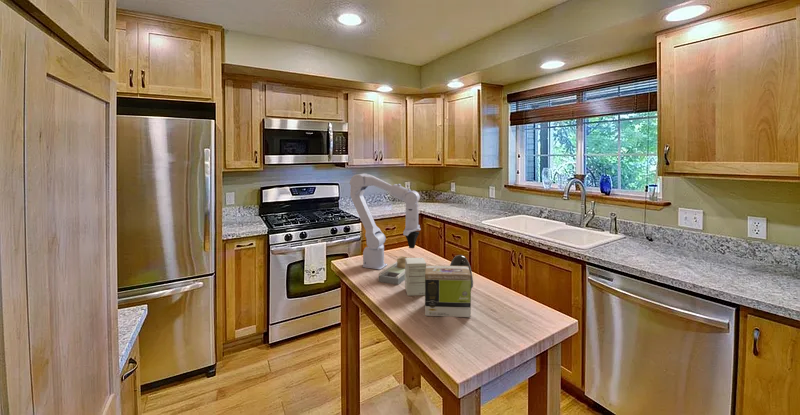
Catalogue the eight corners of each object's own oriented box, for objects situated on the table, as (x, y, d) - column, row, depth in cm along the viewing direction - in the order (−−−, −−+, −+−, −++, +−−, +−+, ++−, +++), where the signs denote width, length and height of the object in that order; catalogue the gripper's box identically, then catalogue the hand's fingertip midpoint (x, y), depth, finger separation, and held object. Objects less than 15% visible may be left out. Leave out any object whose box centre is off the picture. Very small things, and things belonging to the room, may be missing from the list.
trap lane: (378, 281, 151) (378, 273, 150) (402, 264, 172) (402, 257, 172) (398, 284, 147) (398, 276, 147) (419, 267, 169) (419, 260, 168)
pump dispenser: (449, 300, 132) (450, 259, 130) (443, 289, 143) (443, 251, 140) (476, 298, 133) (477, 259, 131) (468, 288, 144) (469, 251, 141)
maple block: (397, 267, 161) (397, 258, 161) (400, 264, 165) (400, 256, 164) (405, 268, 160) (405, 259, 159) (408, 265, 163) (408, 257, 162)
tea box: (468, 305, 128) (469, 265, 125) (470, 318, 118) (472, 275, 116) (425, 303, 129) (425, 263, 127) (424, 316, 119) (424, 273, 117)
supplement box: (404, 288, 143) (404, 257, 141) (423, 287, 144) (423, 257, 142) (406, 295, 136) (406, 263, 134) (426, 295, 137) (426, 263, 135)
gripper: (414, 221, 153) (413, 253, 155) (426, 216, 166) (425, 245, 168) (398, 220, 156) (398, 251, 158) (411, 215, 169) (411, 243, 171)
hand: (411, 247), depth 163 cm, fingers closed
